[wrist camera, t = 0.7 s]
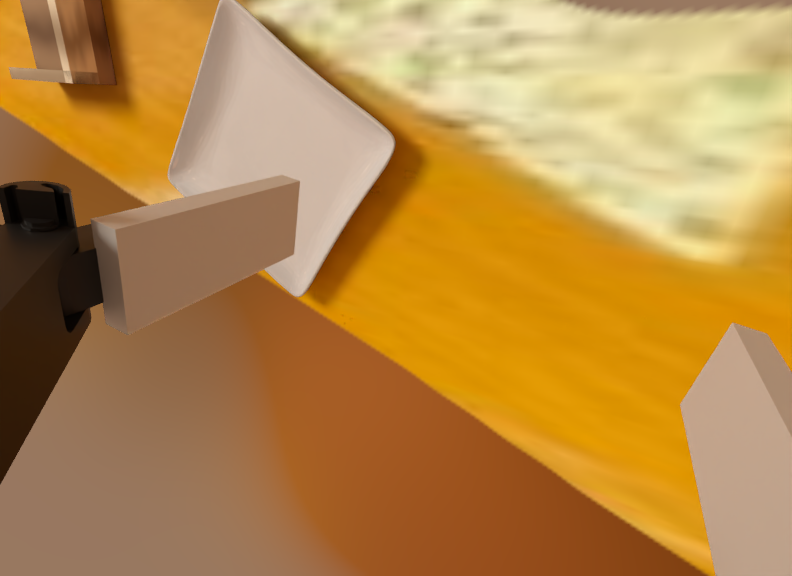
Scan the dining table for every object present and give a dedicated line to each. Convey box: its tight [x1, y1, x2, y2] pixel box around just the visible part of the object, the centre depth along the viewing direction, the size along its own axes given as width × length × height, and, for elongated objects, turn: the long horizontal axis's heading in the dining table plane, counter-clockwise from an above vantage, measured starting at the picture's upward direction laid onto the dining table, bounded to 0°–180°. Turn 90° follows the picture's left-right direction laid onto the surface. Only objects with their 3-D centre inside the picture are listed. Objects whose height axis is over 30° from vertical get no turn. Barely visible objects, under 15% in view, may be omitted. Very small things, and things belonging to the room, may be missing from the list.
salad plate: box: [168, 0, 396, 297], centre depth 45 cm, size 21×21×3 cm
